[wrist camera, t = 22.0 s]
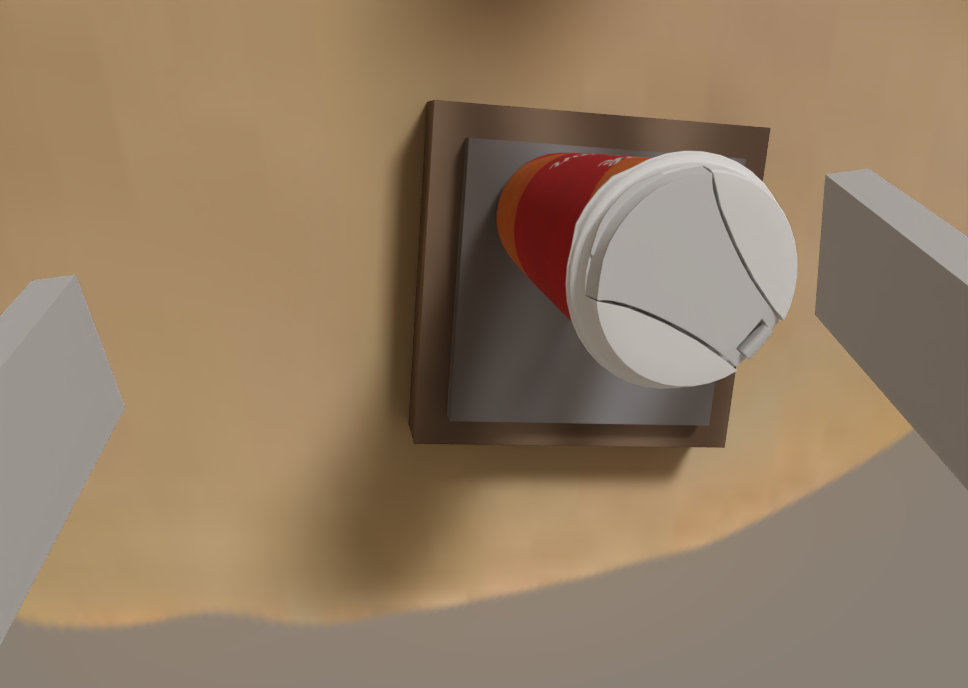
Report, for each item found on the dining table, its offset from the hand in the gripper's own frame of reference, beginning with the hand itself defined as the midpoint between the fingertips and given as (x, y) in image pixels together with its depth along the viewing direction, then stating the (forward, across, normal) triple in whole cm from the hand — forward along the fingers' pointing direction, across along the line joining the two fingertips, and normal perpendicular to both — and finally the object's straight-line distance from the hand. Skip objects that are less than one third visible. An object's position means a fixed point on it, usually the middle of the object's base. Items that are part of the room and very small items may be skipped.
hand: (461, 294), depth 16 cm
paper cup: (+24, +4, -8) cm, 25 cm away
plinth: (+27, +5, -13) cm, 30 cm away
